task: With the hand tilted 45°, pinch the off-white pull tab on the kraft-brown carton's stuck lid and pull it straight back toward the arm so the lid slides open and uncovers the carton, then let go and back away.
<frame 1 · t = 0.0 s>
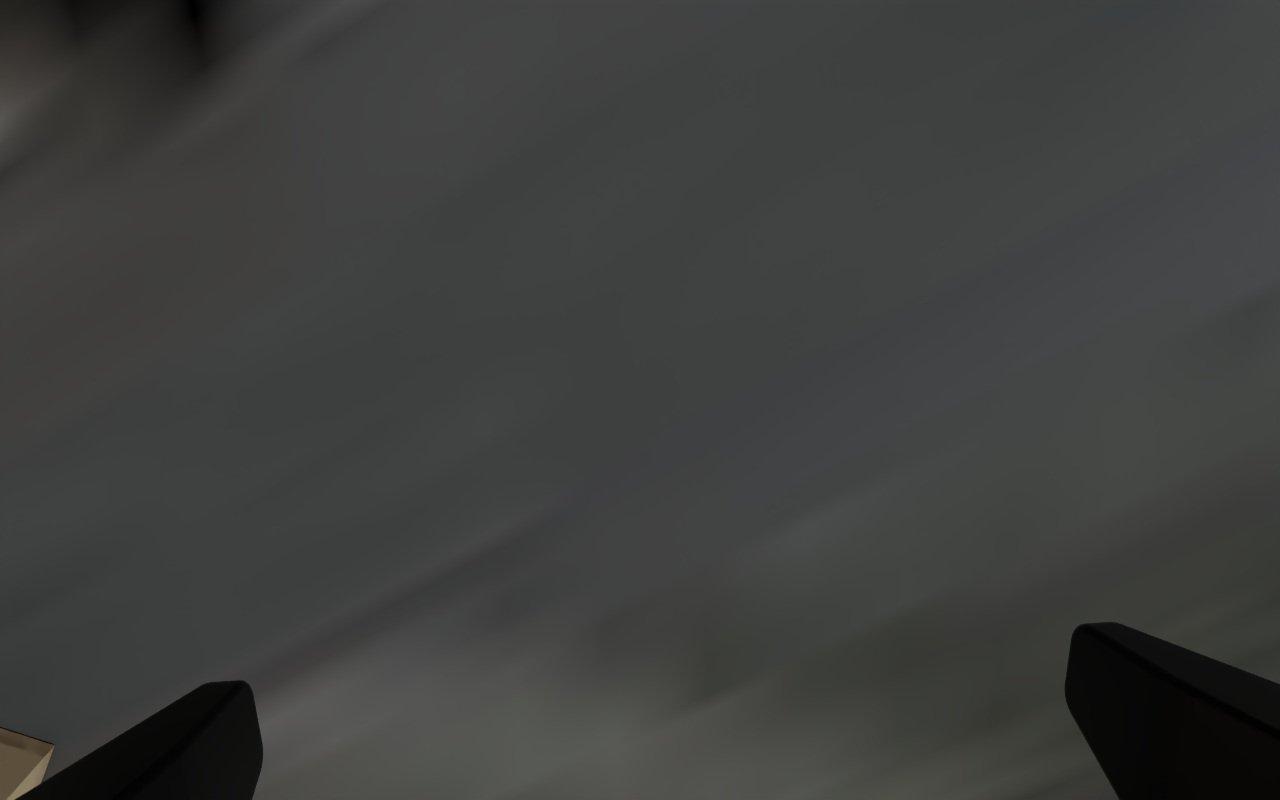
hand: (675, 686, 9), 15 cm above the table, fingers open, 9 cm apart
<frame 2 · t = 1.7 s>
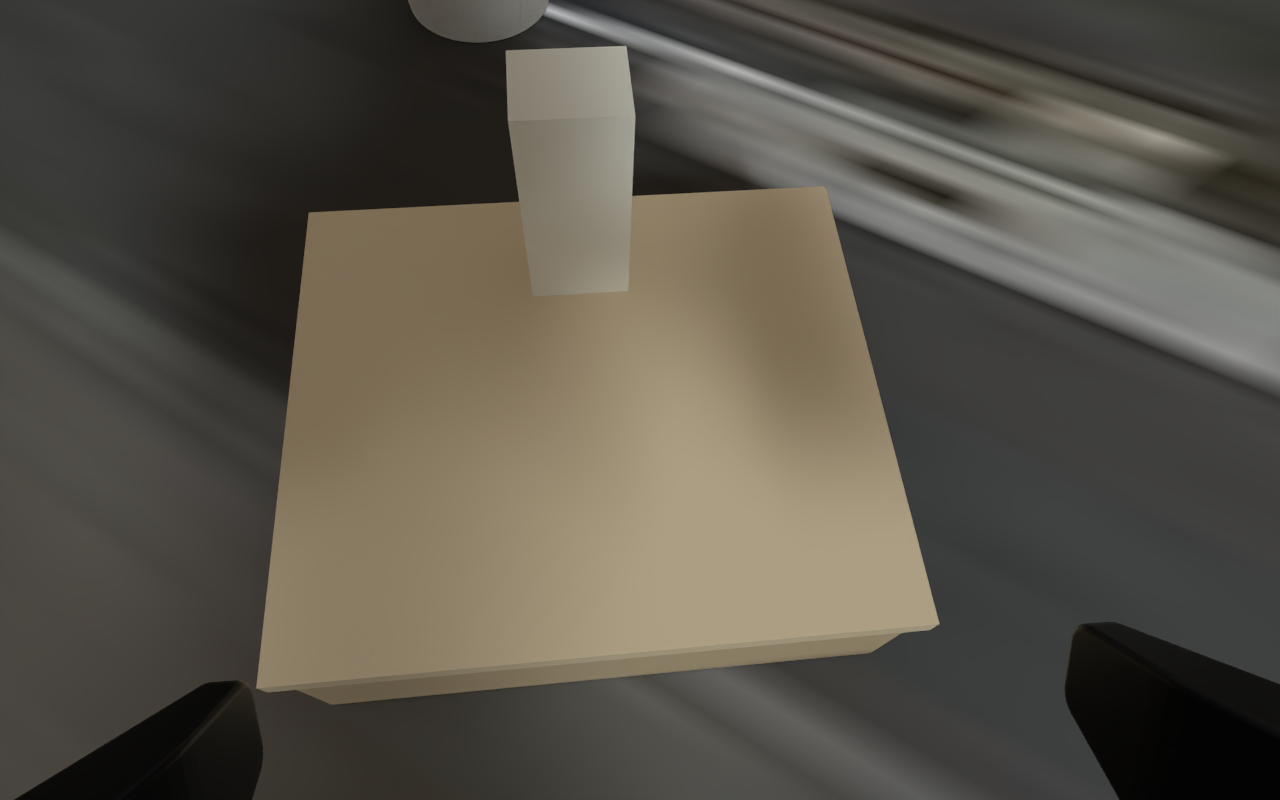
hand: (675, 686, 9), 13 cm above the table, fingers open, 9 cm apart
carton lid: (586, 337, 18), point 7 cm above the table, slide at 0.0 cm
carton: (591, 464, 24), on the table
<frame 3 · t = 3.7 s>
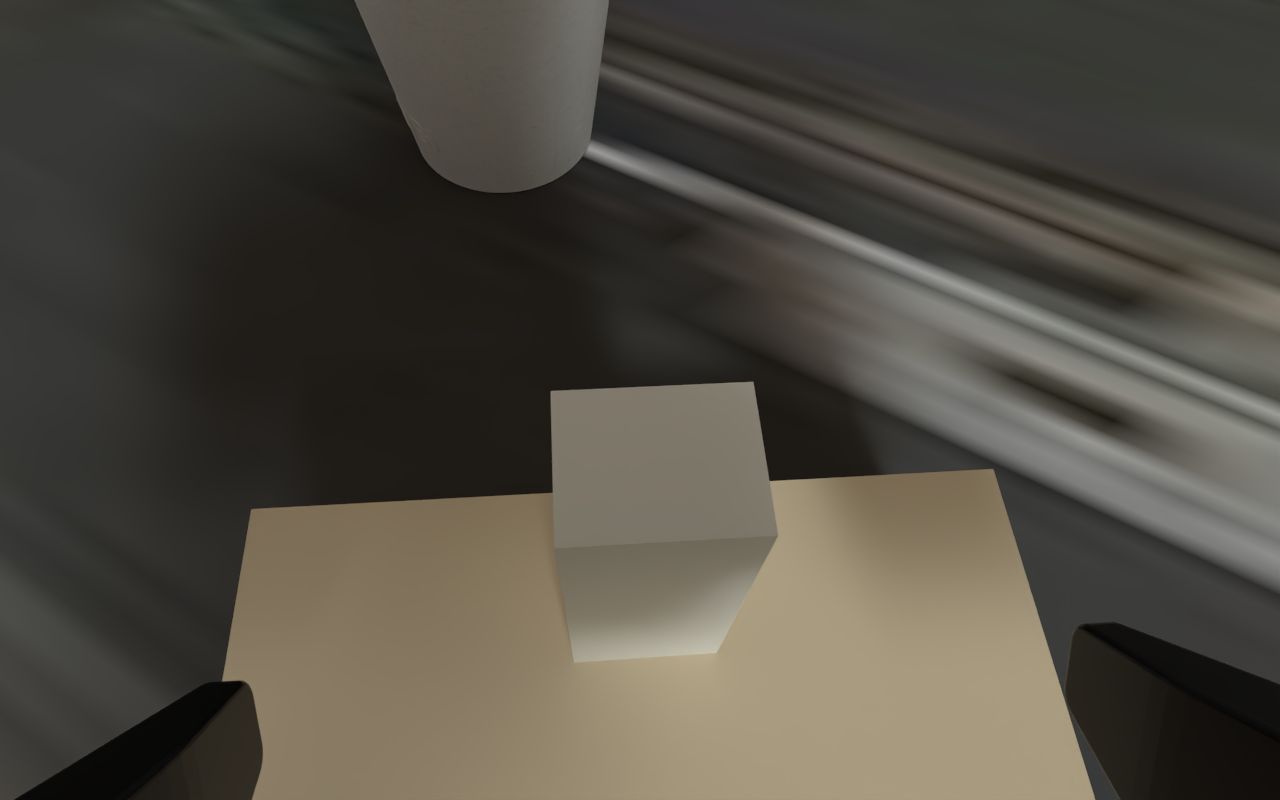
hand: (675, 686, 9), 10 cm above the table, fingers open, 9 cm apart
dixie cup: (505, 132, 27), on the table
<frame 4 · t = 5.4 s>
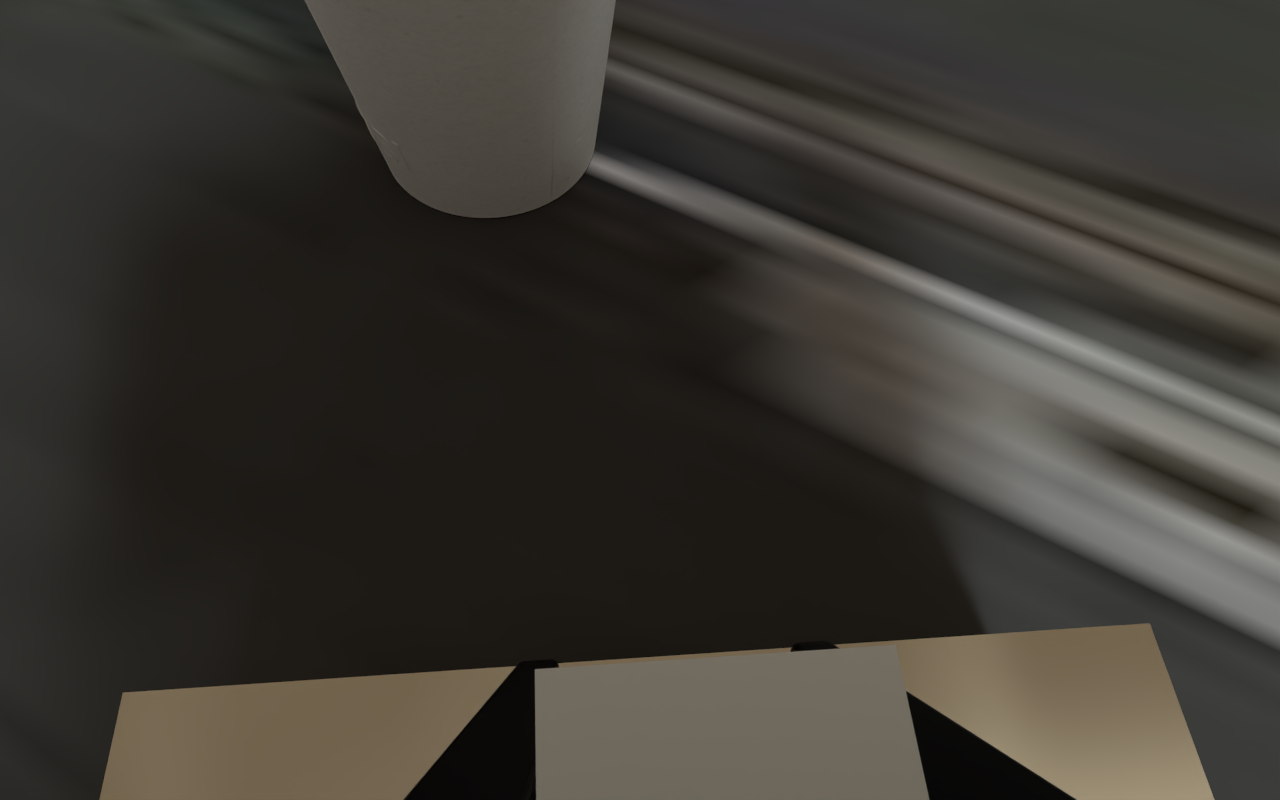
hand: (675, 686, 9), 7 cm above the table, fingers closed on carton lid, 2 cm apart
dixie cup: (492, 143, 22), on the table
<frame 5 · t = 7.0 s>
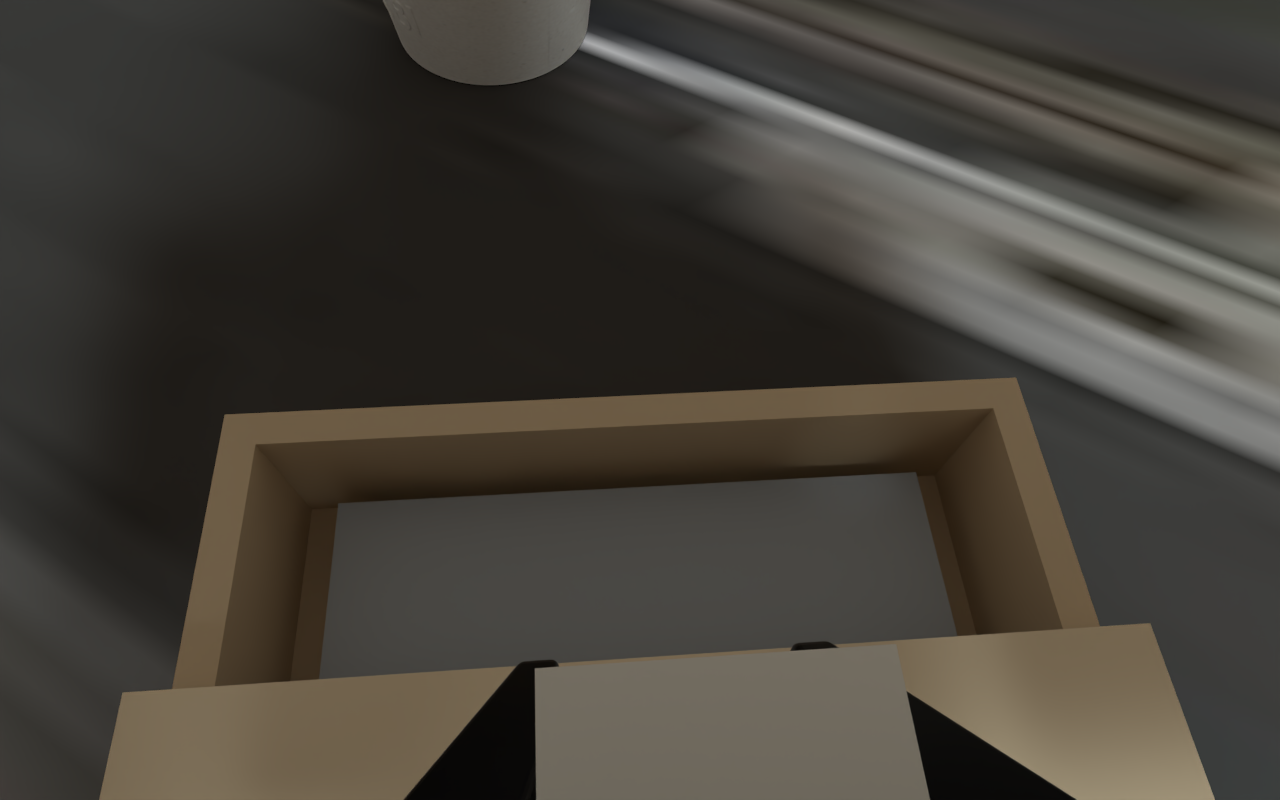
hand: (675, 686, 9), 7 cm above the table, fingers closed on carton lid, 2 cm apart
carton: (650, 782, 15), on the table
dixie cup: (494, 26, 25), on the table
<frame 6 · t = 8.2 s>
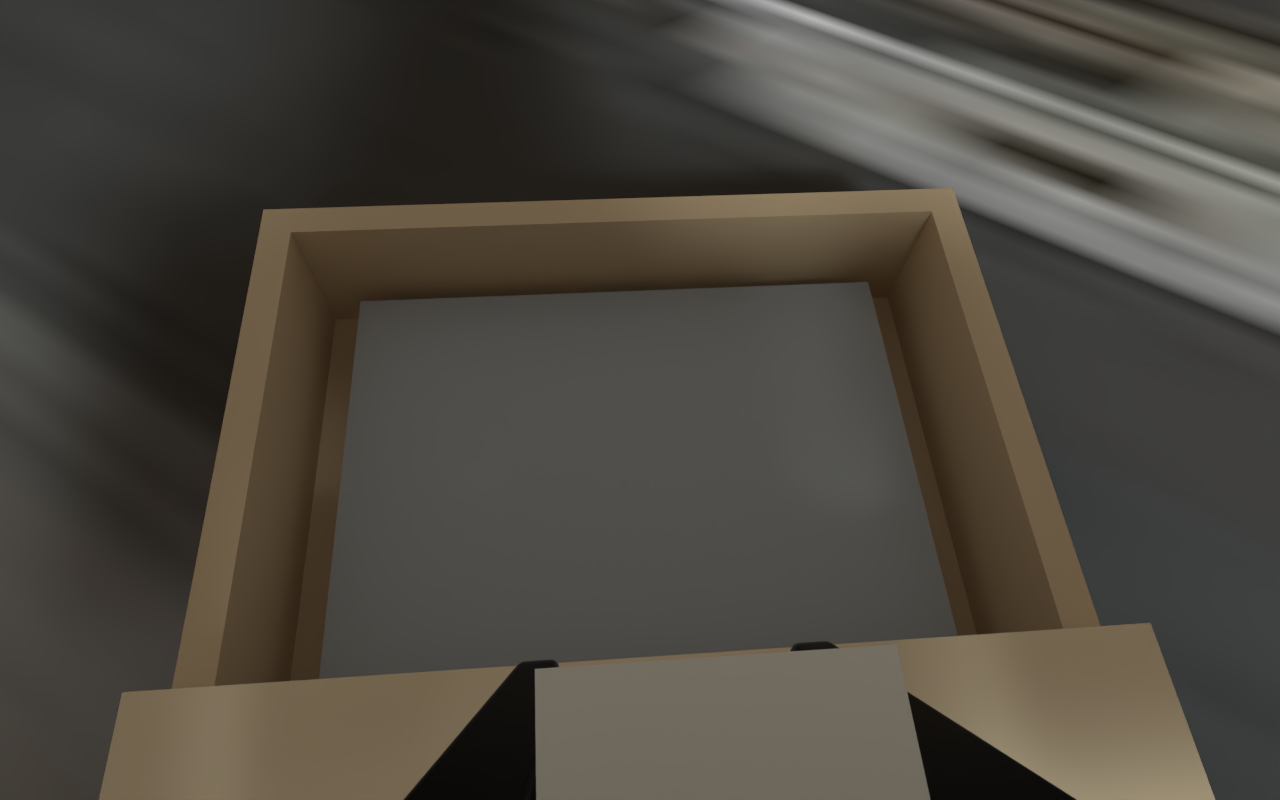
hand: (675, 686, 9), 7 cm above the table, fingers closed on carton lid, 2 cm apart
carton: (633, 538, 17), on the table
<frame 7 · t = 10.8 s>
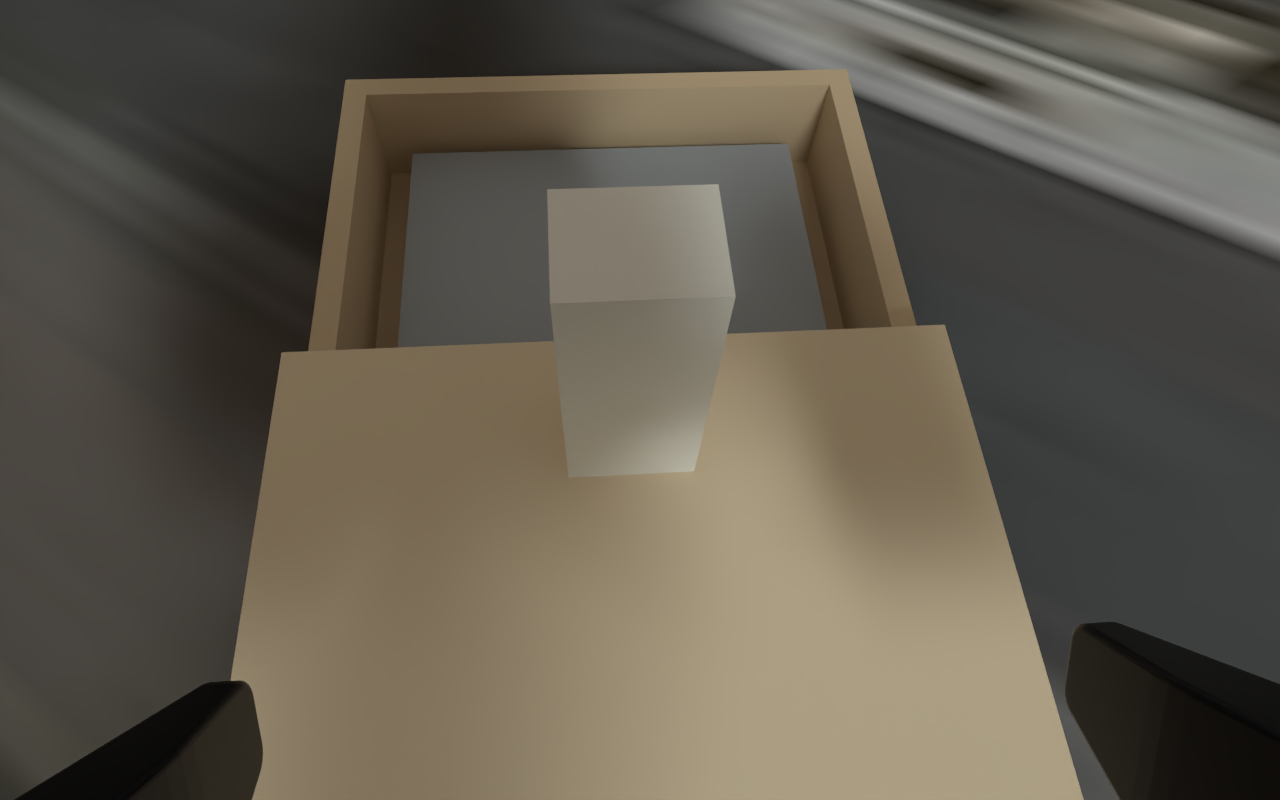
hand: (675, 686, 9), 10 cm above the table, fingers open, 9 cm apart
carton lid: (649, 587, 12), point 7 cm above the table, slide at 9.5 cm
carton: (612, 323, 23), on the table
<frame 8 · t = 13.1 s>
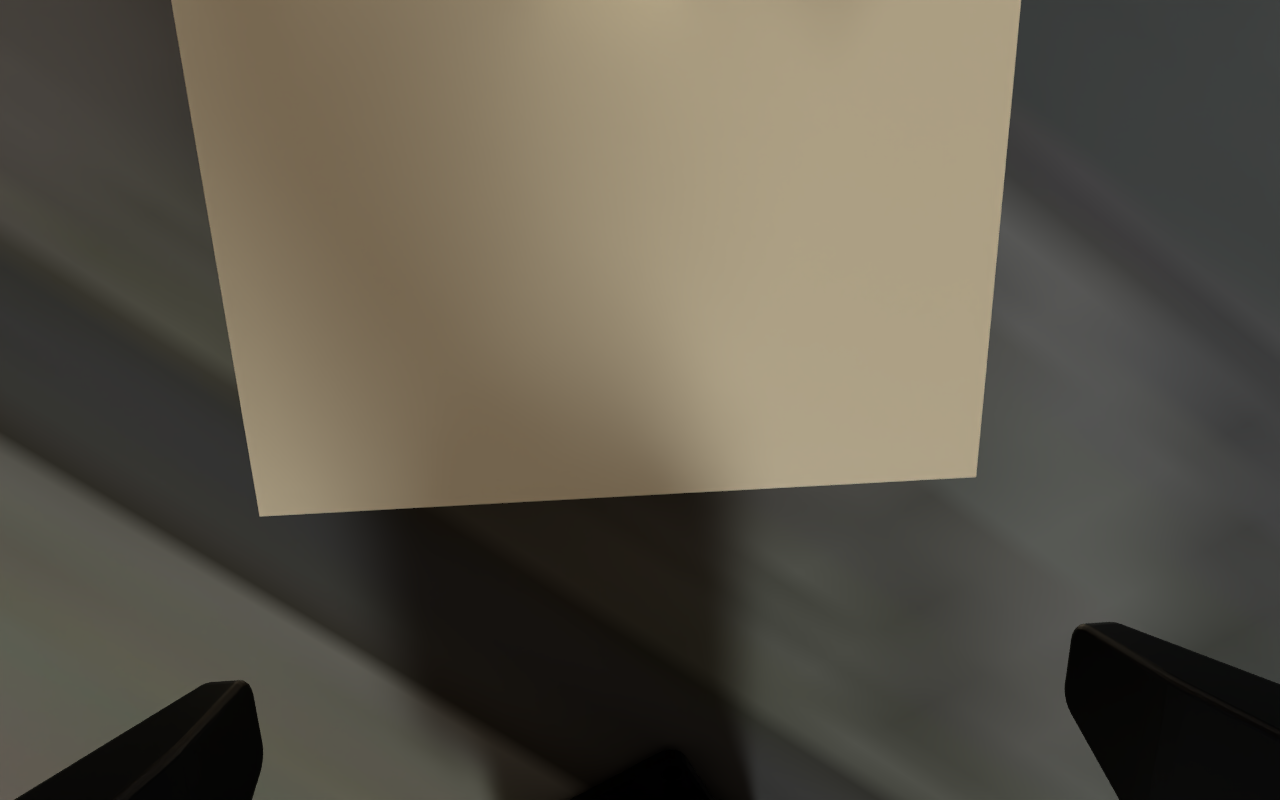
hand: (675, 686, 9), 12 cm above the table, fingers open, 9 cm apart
carton lid: (626, 179, 12), point 7 cm above the table, slide at 9.5 cm
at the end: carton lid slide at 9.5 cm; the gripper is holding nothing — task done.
